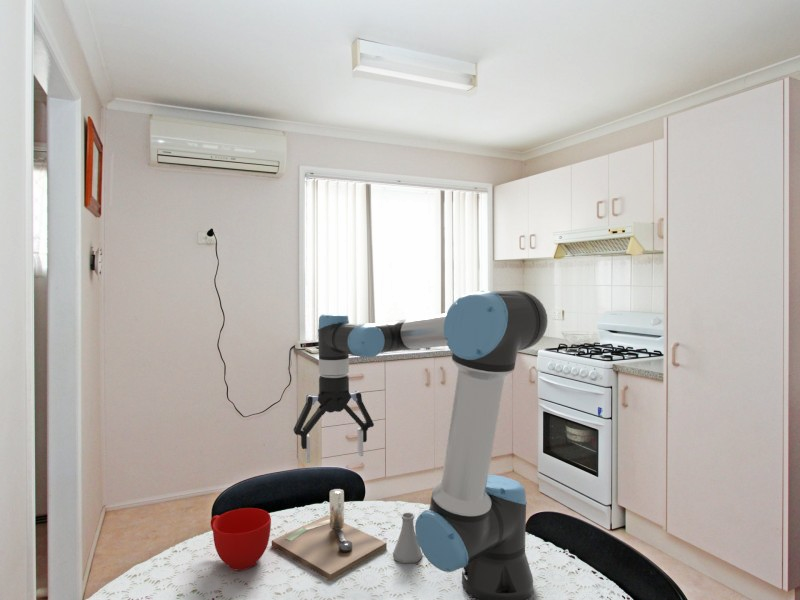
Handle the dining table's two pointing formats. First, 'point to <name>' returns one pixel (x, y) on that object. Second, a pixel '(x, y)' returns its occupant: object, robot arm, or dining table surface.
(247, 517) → the ceramic cup
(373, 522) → the dining table surface
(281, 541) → the board
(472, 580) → the robot arm
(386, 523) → the dining table surface
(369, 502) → the dining table surface
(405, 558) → the flask
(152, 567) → the dining table surface
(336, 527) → the metal crank handle
